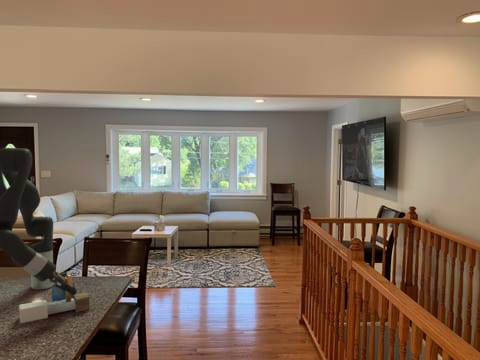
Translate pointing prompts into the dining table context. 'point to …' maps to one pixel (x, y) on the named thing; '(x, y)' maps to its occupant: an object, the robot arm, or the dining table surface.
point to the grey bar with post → (63, 301)
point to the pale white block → (33, 311)
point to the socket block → (82, 302)
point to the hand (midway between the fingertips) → (74, 292)
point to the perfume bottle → (59, 291)
